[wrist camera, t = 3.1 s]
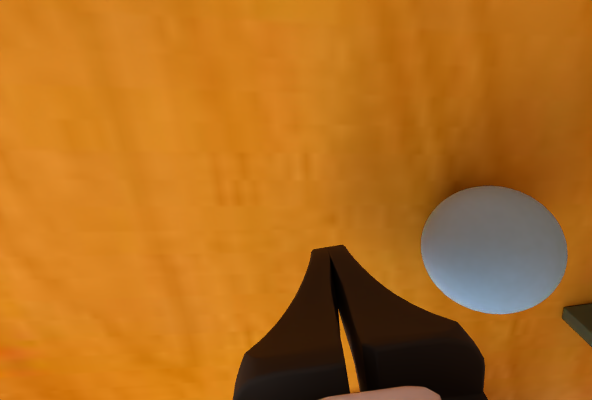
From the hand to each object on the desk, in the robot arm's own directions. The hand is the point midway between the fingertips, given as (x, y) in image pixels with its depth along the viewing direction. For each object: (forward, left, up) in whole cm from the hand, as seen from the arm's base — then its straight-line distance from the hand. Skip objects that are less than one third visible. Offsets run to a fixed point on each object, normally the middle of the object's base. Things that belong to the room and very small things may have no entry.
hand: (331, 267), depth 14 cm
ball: (0, -6, 0) cm, 6 cm away
